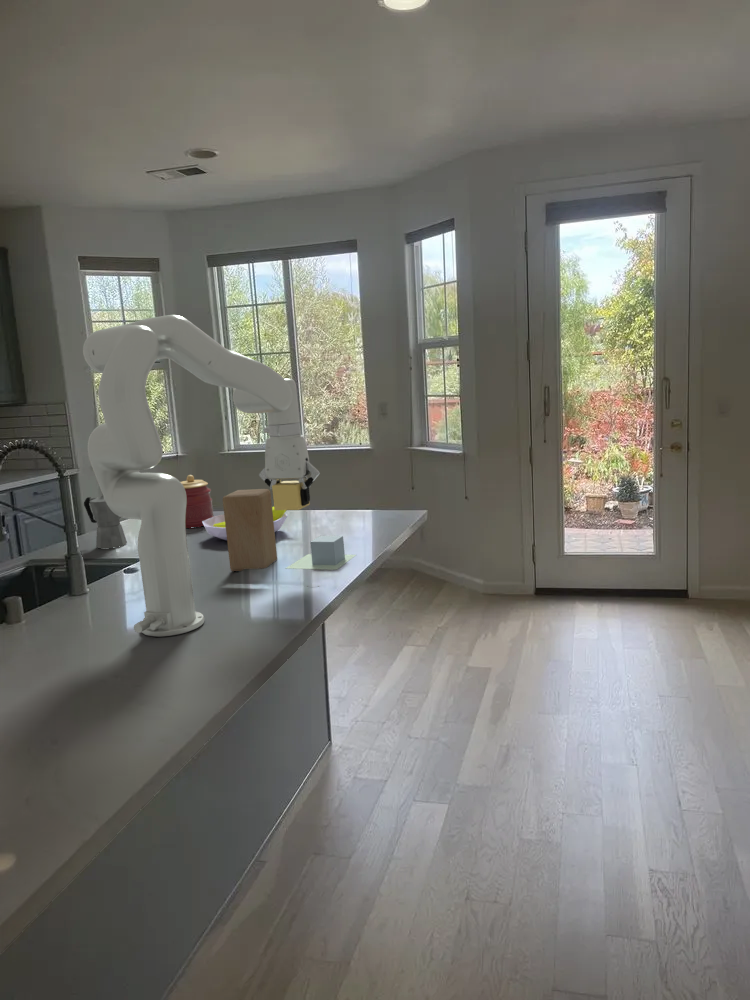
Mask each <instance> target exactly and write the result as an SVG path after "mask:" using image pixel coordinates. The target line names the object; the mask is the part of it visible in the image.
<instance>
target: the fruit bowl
mask: <svg viewBox="0 0 750 1000" xmlns="http://www.w3.org/2000/svg"><path fill="white" fill-rule="evenodd" d="M287 511H288V510H275V509H274V506H272V512H273V522H274V532H277V531H279V530H281V528H282V526H283V524H285V522H286V520H287V518H288V514H287V513H286V512H287ZM202 523H203V525H204V528H205V530H206V532H207V534H208V535H209V536H212V537H215V538H218V539H221V540H224V541H227V535H226V526H225V517H224V514H219V515H214V517H212V518H209V519H207V520H204V521H202Z"/></svg>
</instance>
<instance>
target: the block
mask: <svg viewBox="0 0 750 1000" xmlns="http://www.w3.org/2000/svg"><path fill="white" fill-rule="evenodd" d="M270 490H271V489H269V488H257V489H256V488H255V489H252V488H251V489H237V490H235V491H233V492H230V493H228V494H227V495H223V497H222V507H223V515H224V517H225V526H226V535H227V540H226V542H227V550H228V551H227V552H228V559H229V560H228V561H229V569H230V571H231V572H234V571H240V572H242V571H244V570H250V569H253V570H254V569H258V570H259V569H266V568H268V567H269V566H271V565H272V564H273V563H274V562H276V561H277V559H278V554H277V543H276V536H275V535H276V534H275V532H276V531H275V532H274V522H273V512H272V507H273V505H272V493H271V492H272V491H270Z"/></svg>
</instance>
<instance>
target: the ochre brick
mask: <svg viewBox="0 0 750 1000" xmlns="http://www.w3.org/2000/svg"><path fill="white" fill-rule="evenodd" d="M301 489H302V487H301V485H300V483H299V481H298V480H283V481H281V482H280V483H278V484H275V485H272V490H273V492H272V499H273V500H274V501H273V507H274V509H275V510H287V511H299V510H301V509H303V508H306V507H308V506H309V505H311V503H310V501H309V504H307V505H305V506H302V505H301V495H300V490H301Z"/></svg>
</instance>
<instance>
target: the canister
mask: <svg viewBox="0 0 750 1000" xmlns="http://www.w3.org/2000/svg"><path fill="white" fill-rule="evenodd" d="M180 482H181V483H182V485H183V486H184V488H185V491H186V496H187V505H186V518H185V526H186V528H189V529H192V528H191V527H199V528H202V527H201V526H204V525H203V523H202V521H204V520H207V519H209V518H212V517H214V516H215V515H214V506H213V498H212V497H211V492H212V489H211V488H210V487H208V484H209V483H208V482H207V481H204V479H195V477H194V475H192V474H188V475H187V477H186V480H183V481H180Z"/></svg>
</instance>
